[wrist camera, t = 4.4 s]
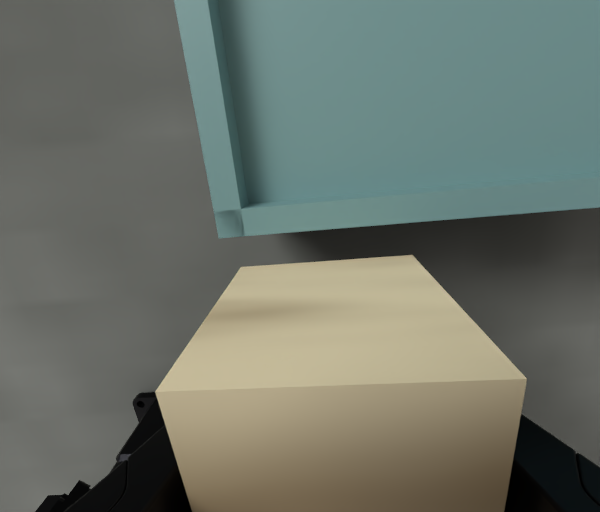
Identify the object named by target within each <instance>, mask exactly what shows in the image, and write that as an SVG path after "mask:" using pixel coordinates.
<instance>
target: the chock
mask: <svg viewBox="0 0 600 512" xmlns="http://www.w3.org/2000/svg"><path fill="white" fill-rule="evenodd" d="M526 382H527V378H526V377H525V376H524V375H523V374H522V373H521V372H520V371H519V370H518V369H517V368H516V366H515V365H514V364H513V363H512V362H511V361H510V360H509V359H508V358H507V357H506V356H505V355H504V353H503V352H502V351H501V350H500V349H499V348H498V347H497V346H496V345H495V344H494V343H493V342H492V340H491V339H490V338H489V337H488V336H487V335H486V334H485V333H484V332H483V331H482V330H481V329H480V328H479V326H478V325H477V324H476V323H475V322H474V321H473V320H472V319H471V318H470V317H469V316H468V315H467V313H466V312H465V311H464V310H463V309H462V308H461V307H460V306H459V305H458V304H457V303H456V302H455V300H454V299H453V298H452V297H451V296H450V295H449V294H448V293H447V292H446V291H445V290H444V289H443V288H442V286H441V285H440V284H439V283H438V282H437V281H436V280H435V279H434V278H433V277H432V276H431V275H430V273H429V272H428V271H427V270H426V269H425V268H424V267H423V266H422V265H421V264H420V263H419V262H418V260H417V259H416V258H415V257H414V256H413V255H404V256H390V257H376V258H362V259H348V260H334V261H320V262H306V263H291V264H277V265H263V266H249V267H241V268H240V269H239V271H238V272H237V274H236V275H235V277H234V278H233V279H232V281H231V282H230V284H229V285H228V287H227V288H226V290H225V291H224V293H223V294H222V295H221V297H220V298H219V300H218V301H217V303H216V304H215V306H214V307H213V309H212V310H211V311H210V313H209V314H208V316H207V317H206V319H205V320H204V322H203V323H202V324H201V326H200V327H199V329H198V330H197V332H196V333H195V335H194V336H193V338H192V339H191V340H190V342H189V343H188V345H187V346H186V348H185V349H184V351H183V352H182V354H181V355H180V356H179V358H178V359H177V361H176V362H175V364H174V365H173V367H172V368H171V370H170V371H169V372H168V374H167V375H166V377H165V378H164V380H163V381H162V383H161V384H160V385H159V387H158V388H157V390H156V391H155V393H156V396H157V400H158V403H159V406H160V409H161V413H162V416H163V419H164V422H165V425H166V429H167V432H168V435H169V438H170V442H171V445H172V448H173V451H174V455H175V458H176V461H177V464H178V468H179V471H180V474H181V477H182V481H183V484H184V487H185V490H186V493H187V497H188V500H189V503H190V506H191V510H192V512H504V510H505V504H506V498H507V492H508V486H509V481H510V475H511V469H512V463H513V457H514V452H515V446H516V440H517V434H518V428H519V423H520V417H521V411H522V405H523V399H524V394H525V388H526Z"/></svg>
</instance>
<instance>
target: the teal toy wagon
mask: <svg viewBox="0 0 600 512" xmlns="http://www.w3.org/2000/svg"><path fill="white" fill-rule="evenodd" d="M174 3H175V8H176V13H177V19H178V24H179V29H180V35H181V40H182V45H183V51H184V56H185V61H186V67H187V72H188V77H189V83H190V88H191V93H192V98H193V104H194V109H195V114H196V120H197V125H198V130H199V136H200V141H201V146H202V152H203V157H204V162H205V167H206V173H207V178H208V183H209V189H210V194H211V199H212V205H213V210H214V215H215V221H216V226H217V231H218V236H219V238H229V237H241V236H253V235H266V234H278V233H290V232H303V231H315V230H327V229H340V228H352V227H364V226H377V225H389V224H401V223H413V222H426V221H438V220H450V219H463V218H475V217H487V216H500V215H512V214H524V213H537V212H549V211H561V210H574V209H586V208H598V207H600V0H174Z"/></svg>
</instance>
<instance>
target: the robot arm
mask: <svg viewBox="0 0 600 512" xmlns="http://www.w3.org/2000/svg"><path fill="white" fill-rule="evenodd" d="M133 406H134V409H135V412H136V415H137V418H138V421H139V424H138V425H137V427H136V428H135V430H134V431H133V433H132V434H131V436H130V437H129V439H128V440H127V442H126V443H125V445H124V446H123V448H122V449H121V451H120V452H119V454H118V455H117V457H116V460H117V462H116V464H115V465H114V467H113V468H112V470H111V472H110V473H109V474H108V475H107V476H106V477H105V478H104V479H103V480H101V481H100V482H99V483H98V484H97V485H95V486H94V487H93V488H92V489H89V487H90V485H88V484H86V483H84V482H82V481H80V480H79V481H78V483H77V484H76V485H75V487H74V488H73V490H72V491H71V492H70V494H69V495H67V494H65V493H64V494H63V495H49V496H47V498H46V499H45V500H44V501H43V503H42V504H41V505H40V506H39V508H38V509H37V510H36V512H192V510H191V506H190V503H189V500H188V497H187V493H186V490H185V487H184V484H183V481H182V477H181V474H180V471H179V468H178V464H177V461H176V458H175V455H174V451H173V448H172V445H171V442H170V438H169V435H168V432H167V429H166V425H165V422H164V419H163V416H162V413H161V409H160V406H159V403H158V400H157V396H156V393H155V392H153V393H139V394H138V395H137V396H136V397H135V399H134V400H133ZM504 512H600V467H598V466H597V465H596V464H594V463H593V462H591V461H590V460H588V459H587V458H585V457H584V456H582V455H581V454H579V453H577V454H576V452H575V451H574V450H573V449H572V448H570V447H569V446H567V445H566V444H565V443H563V442H562V441H560V440H559V439H557V438H556V437H554V436H553V435H551V434H550V433H548V432H547V431H545V430H544V429H543V428H541V427H540V426H538V425H537V424H535V423H534V422H532V421H531V420H529V419H528V418H526V417H525V416H523V415H522V414H521V417H520V423H519V428H518V434H517V440H516V446H515V452H514V457H513V463H512V469H511V475H510V481H509V486H508V492H507V498H506V504H505V510H504Z"/></svg>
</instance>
